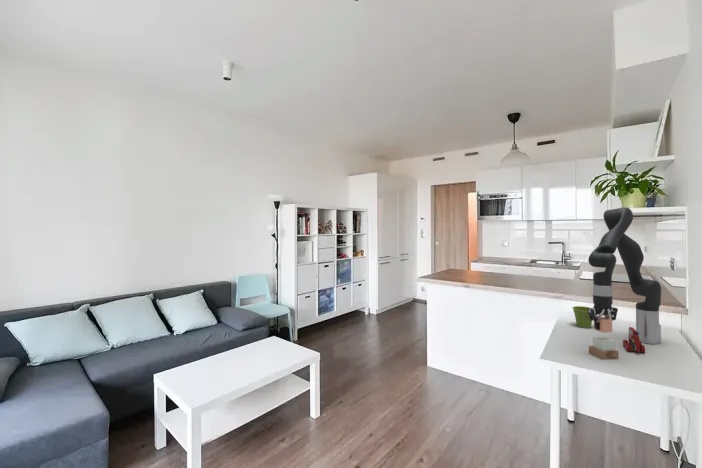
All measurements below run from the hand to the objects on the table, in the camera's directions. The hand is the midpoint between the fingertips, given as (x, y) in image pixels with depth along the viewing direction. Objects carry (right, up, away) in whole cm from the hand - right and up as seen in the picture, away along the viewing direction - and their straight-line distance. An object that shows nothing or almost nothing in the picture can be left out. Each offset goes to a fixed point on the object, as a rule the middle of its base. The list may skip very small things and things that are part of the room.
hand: (602, 329), depth 159 cm
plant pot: (+23, -12, +45) cm, 52 cm away
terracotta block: (0, -1, 0) cm, 1 cm away
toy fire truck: (+20, -13, +6) cm, 24 cm away
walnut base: (0, -13, 0) cm, 13 cm away
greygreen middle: (0, -9, 0) cm, 9 cm away
